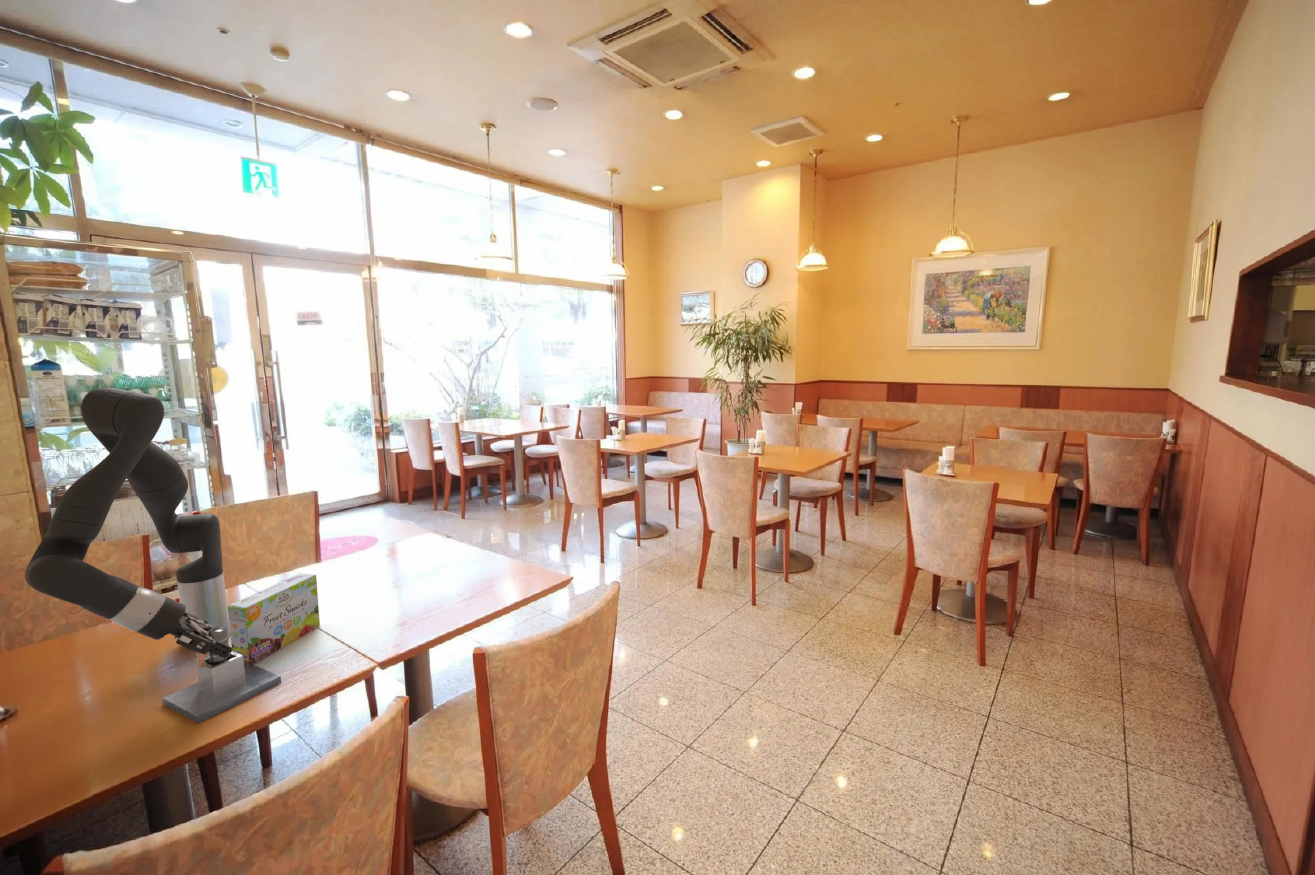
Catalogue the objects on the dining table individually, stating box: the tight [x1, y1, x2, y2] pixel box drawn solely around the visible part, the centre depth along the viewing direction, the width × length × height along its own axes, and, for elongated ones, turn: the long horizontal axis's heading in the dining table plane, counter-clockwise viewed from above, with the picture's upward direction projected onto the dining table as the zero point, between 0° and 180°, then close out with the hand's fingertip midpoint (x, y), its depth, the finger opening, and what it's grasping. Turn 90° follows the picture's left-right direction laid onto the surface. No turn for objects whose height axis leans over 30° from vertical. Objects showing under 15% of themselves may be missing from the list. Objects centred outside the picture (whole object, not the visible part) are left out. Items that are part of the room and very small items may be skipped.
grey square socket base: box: [161, 651, 282, 724], centre depth 122 cm, size 14×16×11 cm
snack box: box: [227, 572, 321, 665], centre depth 143 cm, size 21×6×15 cm, turn 168°
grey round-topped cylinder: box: [207, 627, 231, 666], centre depth 122 cm, size 4×4×12 cm
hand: (226, 646), depth 123 cm, fingers open, 7 cm apart
